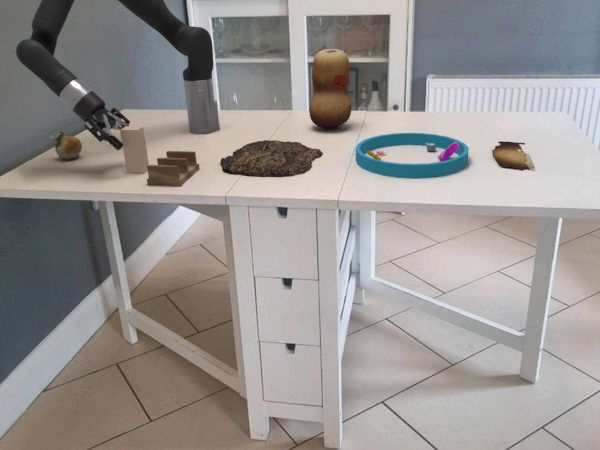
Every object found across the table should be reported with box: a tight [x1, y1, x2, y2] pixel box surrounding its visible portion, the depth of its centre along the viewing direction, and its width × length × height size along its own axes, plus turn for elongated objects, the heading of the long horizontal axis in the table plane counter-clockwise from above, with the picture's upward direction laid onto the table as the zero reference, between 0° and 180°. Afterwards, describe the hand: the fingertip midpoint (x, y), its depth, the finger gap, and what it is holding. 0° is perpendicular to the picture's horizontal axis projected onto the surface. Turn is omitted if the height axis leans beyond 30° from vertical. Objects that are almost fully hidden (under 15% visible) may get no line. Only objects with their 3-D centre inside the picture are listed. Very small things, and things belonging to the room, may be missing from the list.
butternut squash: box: [308, 48, 352, 130], centre depth 190 cm, size 14×13×25 cm
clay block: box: [119, 125, 150, 175], centre depth 159 cm, size 4×5×12 cm
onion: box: [50, 131, 83, 161], centre depth 173 cm, size 8×8×8 cm
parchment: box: [491, 140, 536, 172], centre depth 161 cm, size 25×10×1 cm, turn 167°
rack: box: [146, 150, 200, 187], centre depth 155 cm, size 14×9×5 cm, turn 168°
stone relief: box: [219, 139, 324, 178], centre depth 166 cm, size 26×4×30 cm
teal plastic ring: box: [355, 132, 469, 179], centre depth 161 cm, size 30×30×6 cm
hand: (128, 143), depth 159 cm, fingers open, 8 cm apart
